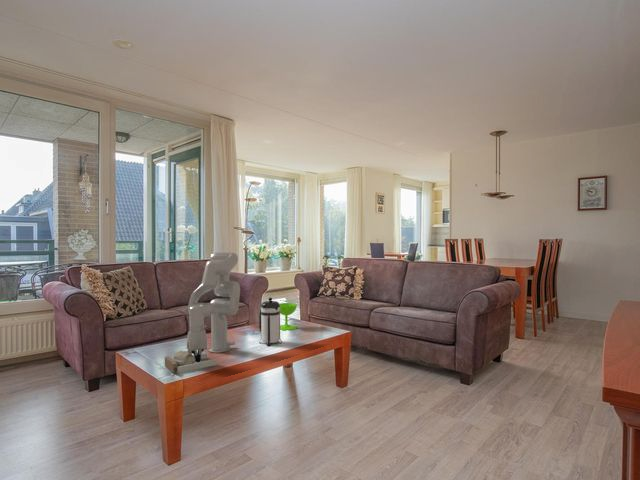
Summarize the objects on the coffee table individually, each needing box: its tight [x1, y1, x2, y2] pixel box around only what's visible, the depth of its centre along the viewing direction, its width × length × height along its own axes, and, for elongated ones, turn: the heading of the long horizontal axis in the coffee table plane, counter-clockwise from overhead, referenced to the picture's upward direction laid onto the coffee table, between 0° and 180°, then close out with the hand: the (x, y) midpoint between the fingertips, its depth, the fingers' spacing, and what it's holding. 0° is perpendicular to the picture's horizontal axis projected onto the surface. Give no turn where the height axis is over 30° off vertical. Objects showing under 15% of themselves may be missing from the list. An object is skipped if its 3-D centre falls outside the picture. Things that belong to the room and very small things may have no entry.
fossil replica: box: [172, 350, 196, 367], centre depth 202 cm, size 12×8×10 cm
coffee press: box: [258, 297, 283, 347], centre depth 249 cm, size 17×16×30 cm
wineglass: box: [279, 302, 298, 332], centre depth 290 cm, size 16×16×18 cm
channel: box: [164, 352, 218, 375], centre depth 205 cm, size 23×16×5 cm
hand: (197, 361), depth 207 cm, fingers closed
